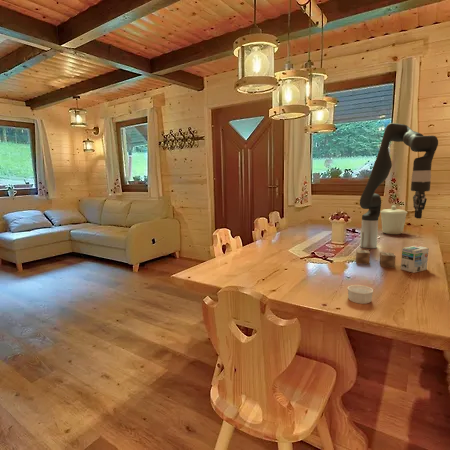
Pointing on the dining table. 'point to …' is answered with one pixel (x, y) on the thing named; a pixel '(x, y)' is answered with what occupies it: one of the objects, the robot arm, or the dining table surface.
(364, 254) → the walnut block two
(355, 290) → the ramekin
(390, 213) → the canister
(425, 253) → the light bulb box
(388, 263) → the walnut block one
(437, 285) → the dining table surface
